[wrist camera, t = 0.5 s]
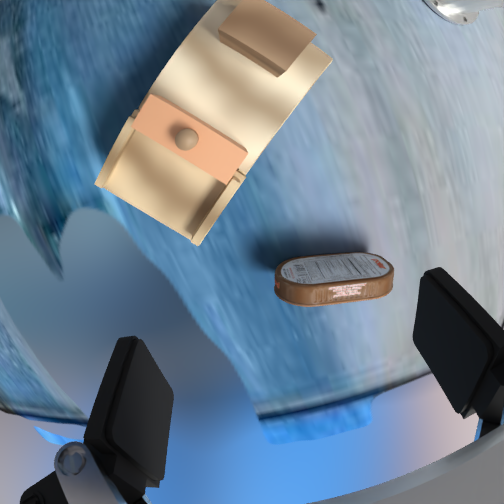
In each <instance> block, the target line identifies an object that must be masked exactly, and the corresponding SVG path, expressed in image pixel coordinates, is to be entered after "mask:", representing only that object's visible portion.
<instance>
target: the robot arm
mask: <svg viewBox="0 0 504 504" xmlns="http://www.w3.org/2000/svg"><path fill="white" fill-rule="evenodd" d="M424 1H425V2H426V3H427V4H428V6H429V7H430V8H431V9H432V10H433V11H435V12H436V13H437V14H438V15H439V16H441V17H442V18H444V19H445V20H447V21H449V22H451V23H454V24H457V25H467V24H470V23H473V22H474V21H475V20H476V19H477V17H478V14H479V11H483V10H488V9H493V8H499V7H504V0H424ZM413 342H414V344H415V346H416V347H417V349H418V351H419V352H420V354H421V355H422V357H423V358H424V360H425V362H426V363H427V365H428V366H429V368H430V370H431V371H432V373H433V374H434V376H435V378H436V379H437V381H438V383H439V384H440V386H441V388H442V389H443V391H444V393H445V395H446V396H447V398H448V400H449V401H450V403H451V405H452V407H453V408H454V410H455V412H457V413H458V414H459V413H460V414H461V415H462V417H463V419H465V418H467V417H469V416H470V415H472V414H474V413H477V415H478V417H479V421H478V426H477V431H476V435H475V440H474V442H472V443H470V444H469V445H467V446H465V447H463V448H462V449H459V450H457V451H456V452H454V453H452V454H450V455H448V456H446V457H444V458H442V459H440V460H438V461H436V462H433V463H431V464H429V465H427V466H425V467H422V468H420V469H418V470H415V471H413V472H411V473H408V474H406V475H403V476H401V477H398V478H395V479H393V480H390V481H387V482H384V483H382V484H379V485H376V486H373V487H369V488H366V489H363V490H360V491H357V492H353V493H350V494H346V495H342V496H338V497H335V498H330V499H326V500H322V501H318V502H312V503H308V504H504V330H503V329H502V328H501V327H500V326H499V324H498V323H497V322H496V321H495V320H494V319H493V318H492V317H491V316H490V315H489V314H488V313H487V312H486V311H485V310H484V308H483V307H482V306H481V305H480V304H479V303H478V302H477V301H476V300H475V299H474V298H473V297H472V296H471V295H470V294H469V293H468V292H467V291H466V290H465V289H464V288H463V287H462V286H461V285H460V284H459V283H458V282H457V281H455V280H454V279H453V278H452V277H451V276H450V275H449V274H448V273H447V272H446V271H445V270H444V269H443V268H441V267H437V268H434V269H431V270H428V271H426V272H425V273H424V276H423V277H421V279H420V287H419V295H418V303H417V311H416V318H415V324H414V331H413ZM173 400H174V395H173V391H172V388H171V387H170V385H169V384H168V382H167V380H166V379H165V377H164V376H163V374H162V372H161V371H160V369H159V367H158V366H157V364H156V362H155V361H154V359H153V357H152V356H151V354H150V352H149V350H148V349H147V347H146V345H145V343H144V342H143V341H142V340H141V339H138V338H137V337H136V336H129V337H122V338H119V339H118V341H117V343H116V346H115V348H114V351H113V353H112V356H111V359H110V361H109V364H108V367H107V369H106V372H105V374H104V377H103V380H102V383H101V385H100V388H99V391H98V394H97V397H96V400H95V403H94V406H93V409H92V412H91V415H90V418H89V421H88V424H87V427H86V431H85V434H84V442H83V443H81V442H77V441H75V442H69V443H67V444H65V445H64V446H62V447H61V448H60V449H59V451H58V452H57V454H56V456H55V460H54V468H55V471H54V472H52V473H51V474H49V475H48V476H46V477H45V478H43V479H42V480H40V481H39V482H37V483H36V484H34V485H33V486H31V487H30V488H28V489H27V490H26V491H25V492H24V493H23V495H22V496H21V499H20V504H152V503H151V502H150V500H149V499H148V498H147V497H146V495H145V488H146V487H157V488H159V483H160V480H163V478H164V474H165V464H166V455H167V446H168V438H169V430H170V422H171V414H172V407H173Z"/></svg>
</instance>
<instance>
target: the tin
mask: <svg viewBox="0 0 504 504" xmlns="http://www.w3.org/2000/svg"><path fill="white" fill-rule="evenodd" d="M393 277H394V268H393V266H392V265H391V264H390V263H389V262H388V261H387V260H385V259H384V258H383V257H381V256H378V255H375V254H371V253H364V252H351V253H337V254H325V255H313V256H302V257H295V258H291V259H288V260H286V261H284V262H282V263H281V264H279V265H278V267H277V268H276V271H275V286H274V291H275V294H276V295H277V296H278V297H279V298H280V299H281V300H283V301H285V302H287V303H289V304H293V305H297V306H304V307H315V306H324V305H332V304H341V303H348V302H356V301H364V300H372V299H378V298H381V297H383V296H386V295H387V294H389V293H390V292H391V290H392V288H393Z"/></svg>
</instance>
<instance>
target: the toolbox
mask: <svg viewBox="0 0 504 504" xmlns="http://www.w3.org/2000/svg"><path fill="white" fill-rule="evenodd" d="M331 62H332V61H331ZM331 62H330V63H331ZM330 63H329V64H330ZM327 67H328V66H327ZM327 67H326V68H327ZM326 68H325V69H326ZM323 72H324V71H323ZM323 72H322V73H323ZM322 73H321V74H322ZM319 77H320V76H319ZM319 77H318V78H319ZM318 78H317V79H318ZM315 82H316V81H315ZM315 82H314V83H315ZM314 83H313V84H314ZM312 86H313V85H312ZM312 86H311V87H312ZM311 87H310V88H311ZM310 88H309V89H310ZM308 91H309V90H308ZM308 91H307V92H308ZM307 92H306V93H307ZM304 96H305V95H304ZM304 96H303V97H304ZM303 97H302V98H303ZM301 100H302V99H301ZM301 100H300V101H301ZM300 101H299V102H300ZM298 104H299V103H298ZM298 104H297V105H298ZM297 105H296V106H297ZM294 109H295V108H294ZM294 109H293V110H294ZM140 110H141V109H140V108H139V109H135V110H134V112H133V114H132V115H131V116H129V118H128V119H127V121H126V123H125V125H124V127H123V128H122V130H121V132H120V134H119V136H118V138H117V139H116V141H115V143H114V145H113V147H112V149H111V151H110V153H109V155H108V157H107V159H106V161H105V163H104V165H103V167H102V169H101V171H100V174H99V176H98V178H97V180H96V182H95V185H97V186H98V187H100V188H105V189H106V190H108V191H110V192H111V193H113V194H115V195H116V196H118V197H120V198H121V199H123V200H125V201H126V202H128V203H130V204H131V205H133V206H134V207H136V208H138V209H139V210H141V211H143V212H144V213H146V214H148V215H149V216H151V217H153V218H154V219H156V220H158V221H159V222H161V223H163V224H165V225H166V226H168V227H170V228H171V229H173V230H175V231H176V232H178V233H180V234H181V235H183V236H185V237H186V238H188V239H190V240H191V242H192V243H193V244H195V245H197V246H198V245H200V243H201V242H202V240H203V239H204V237H205V236H206V234H207V233H208V232H209V230H210V229H211V227H212V226H213V224H214V223H215V221H216V220H217V218H218V217H219V215H220V214H221V212H222V211H223V210H224V208H225V207H226V205H227V204H228V202H229V201H230V199H231V198H232V197H233V195H234V194H235V192H236V191H237V189H238V188H239V187H240V185H241V184H242V182H243V181H244V180H245V178H246V174H247V173H245V172H243V171H242V170H240V169H239V168H238V169H237V170H236V172H235V173H234V175H233V176H232V178H231V179H230V180H229V182H228V183H227V185H226V184H224V183H222V182H221V181H219V180H218V179H216V178H214V177H213V176H211V175H210V174H208V173H206V172H205V171H203V170H202V169H200V168H198V167H197V166H195V165H194V164H192V163H190V162H189V161H187V160H185V159H184V158H182V157H180V156H179V155H177V154H176V153H174V152H172V151H171V150H169V149H167V148H166V147H164V146H162V145H161V144H159V143H157V142H156V141H154V140H152V139H150V138H149V137H147V136H145V135H144V134H142V133H140V132H139V131H137V130H135V129H133V128H132V127H131V125H132V124H133V122H134V120H135V118H136V117H137V115H138V113H139V112H140ZM293 110H292V111H293ZM291 113H292V112H291ZM291 113H290V114H291ZM290 114H289V115H290ZM288 117H289V116H288ZM288 117H287V118H288ZM287 118H286V119H287ZM285 121H286V120H285ZM285 121H284V122H285ZM284 122H283V123H284ZM282 125H283V124H282ZM282 125H281V126H282ZM281 126H280V127H281ZM279 129H280V128H279ZM279 129H278V130H279ZM278 130H277V131H278ZM276 133H277V132H276ZM276 133H275V134H276ZM275 134H274V135H275ZM273 137H274V136H273ZM273 137H272V138H273ZM272 138H271V139H272ZM270 141H271V140H270ZM270 141H269V142H270ZM267 145H268V144H267ZM267 145H266V146H267ZM265 148H266V147H265ZM265 148H264V149H265ZM264 149H263V150H264ZM262 152H263V151H262ZM262 152H261V153H262ZM261 153H260V154H261ZM259 156H260V155H259ZM259 156H258V157H259ZM257 159H258V158H257ZM257 159H256V160H257ZM256 160H255V161H256ZM254 163H255V162H254ZM254 163H253V164H254ZM251 167H252V166H251ZM251 167H250V168H251ZM249 170H250V169H249ZM249 170H248V171H249ZM248 171H247V172H248Z"/></svg>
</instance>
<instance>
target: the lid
mask: <svg viewBox="0 0 504 504" xmlns="http://www.w3.org/2000/svg"><path fill="white" fill-rule="evenodd" d="M316 35H317V34H315V33H314V32H313V31H311V30H310V29H308V28H307V27H305V26H304V25H303V24H301V23H300V22H298V21H297V20H295V19H294V18H292V17H291V16H289V15H287V14H286V13H284V12H283V11H281V10H280V9H278V8H276V7H275V6H273V5H271V4H270V3H268V2H266V1H265V0H217V1H216V2H215V3H214V4H213V6H212V7H211V8H210V9H209V10H208V11H207V12H206V14H205V15H204V16H203V17H202V18H201V20H200V21H199V22H198V23H197V24H196V26H195V27H194V28H193V29H192V31H191V32H190V33H189V35H188V36H187V37H186V38H185V40H184V41H183V42H182V44H181V45H180V46H179V48H178V49H177V50H176V52H175V53H174V54H173V56H172V57H171V59H170V60H169V61H168V63H167V64H166V66H165V67H164V69H163V70H162V71H161V73H160V74H159V76H158V77H157V79H156V80H155V82H154V83H153V85H152V87H151V88H150V90H149V91H148V93H147V94H146V96H145V98H144V99H143V101H142V102H141V104H140V106H139V107H138V108H140V109H141V108H142V107H143V105H144V103H145V102H146V100H147V99H148V97H149V95H150V94H154V95H159V96H162V97H163V98H165V99H167V100H169V101H170V102H172V103H174V104H176V105H177V106H179V107H181V108H182V109H184V110H186V111H188V112H189V113H191V114H193V115H194V116H196V117H198V118H199V119H201V120H202V121H204V122H206V123H207V124H209V125H211V126H212V127H214V128H215V129H217V130H219V131H220V132H222V133H223V134H225V135H226V136H228V137H229V138H231V139H233V140H234V141H236V142H237V143H239V144H240V145H242V146H243V147H245V148H246V149H247V151H248V155H247V156H246V158H245V159H244V161H243V162H242V163H241V165H240V166H239V169H240V170H242V171H243V172H245V173H247V171H248V170H249V169H250V167H251V166H252V165H253V163H254V162H255V160H256V159H257V158H258V156H259V155H260V153H261V152H262V151H263V149H264V148H265V147H266V145H267V144H268V143H269V141H270V140H271V138H272V137H273V136H274V134H275V133H276V132H277V130H278V129H279V128H280V126H281V125H282V124H283V122H284V121H285V120H286V118H287V117H288V116H289V114H290V113H291V112H292V110H293V109H294V108H295V107H296V105H297V104H298V103H299V101H300V100H301V99H302V97H303V96H304V95H305V94H306V92H307V91H308V90H309V88H310V87H311V86H312V85H313V83H314V82H315V81H316V80H317V78H318V77H319V76H320V75H321V73H322V72H323V71H324V70H325V68H326V67H327V66H328V65H329V63H330V62H331V61H332V60H333V59H332V58H331V57H330V56H328V55H327V54H326V53H324V52H323V51H322V50H321V49H319V48H318V47H316V46H315V45H314V44H312V43H311V41H312V39H313V38H314V37H315V36H316Z"/></svg>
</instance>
